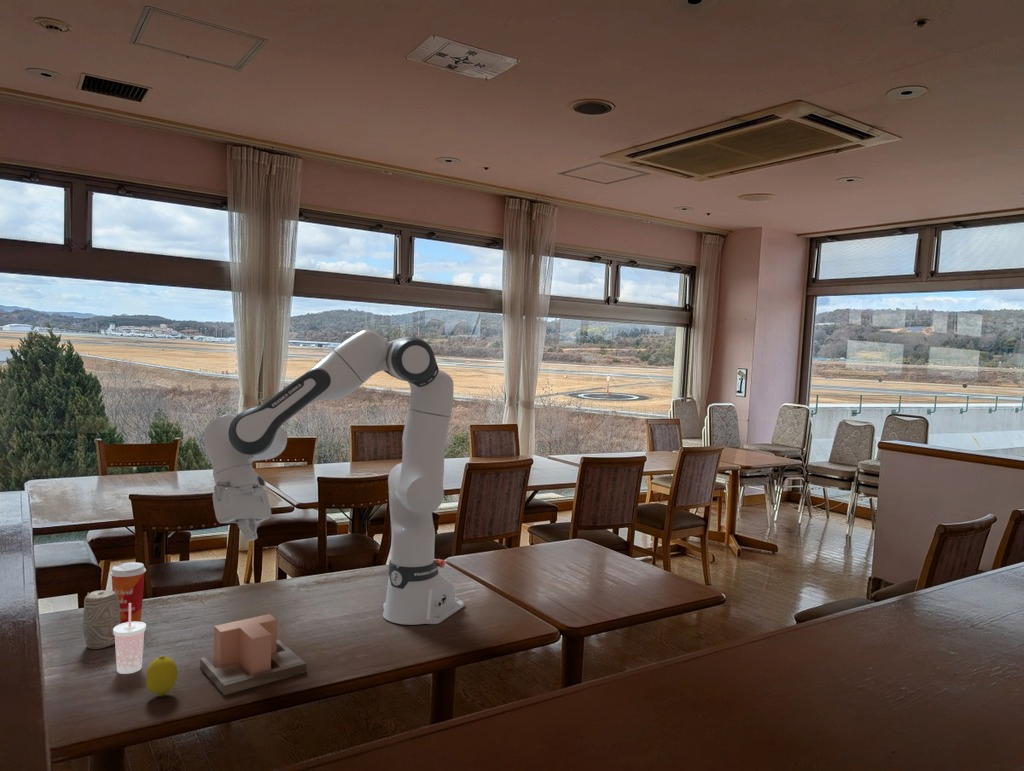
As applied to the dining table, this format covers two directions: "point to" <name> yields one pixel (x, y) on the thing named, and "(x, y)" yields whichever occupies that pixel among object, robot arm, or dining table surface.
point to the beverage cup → (129, 645)
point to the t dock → (237, 680)
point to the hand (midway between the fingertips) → (251, 539)
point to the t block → (246, 644)
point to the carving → (100, 618)
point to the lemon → (161, 675)
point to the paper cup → (129, 589)
